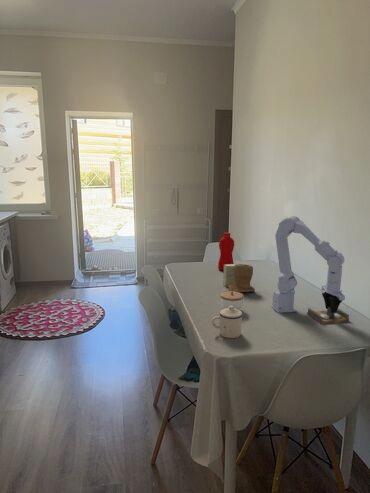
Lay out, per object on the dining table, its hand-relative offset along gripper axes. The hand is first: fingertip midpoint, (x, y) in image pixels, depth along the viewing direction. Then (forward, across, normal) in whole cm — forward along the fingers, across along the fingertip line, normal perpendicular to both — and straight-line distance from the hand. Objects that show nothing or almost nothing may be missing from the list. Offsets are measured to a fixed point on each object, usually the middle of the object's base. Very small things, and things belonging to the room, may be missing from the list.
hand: (330, 310), depth 164 cm
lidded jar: (+5, +18, +40) cm, 44 cm away
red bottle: (+5, +89, +20) cm, 91 cm away
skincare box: (+5, +55, +29) cm, 62 cm away
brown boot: (+5, +45, +26) cm, 52 cm away
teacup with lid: (+5, -6, +50) cm, 51 cm away
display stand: (+4, +2, 0) cm, 5 cm away
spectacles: (+3, +2, 0) cm, 4 cm away
